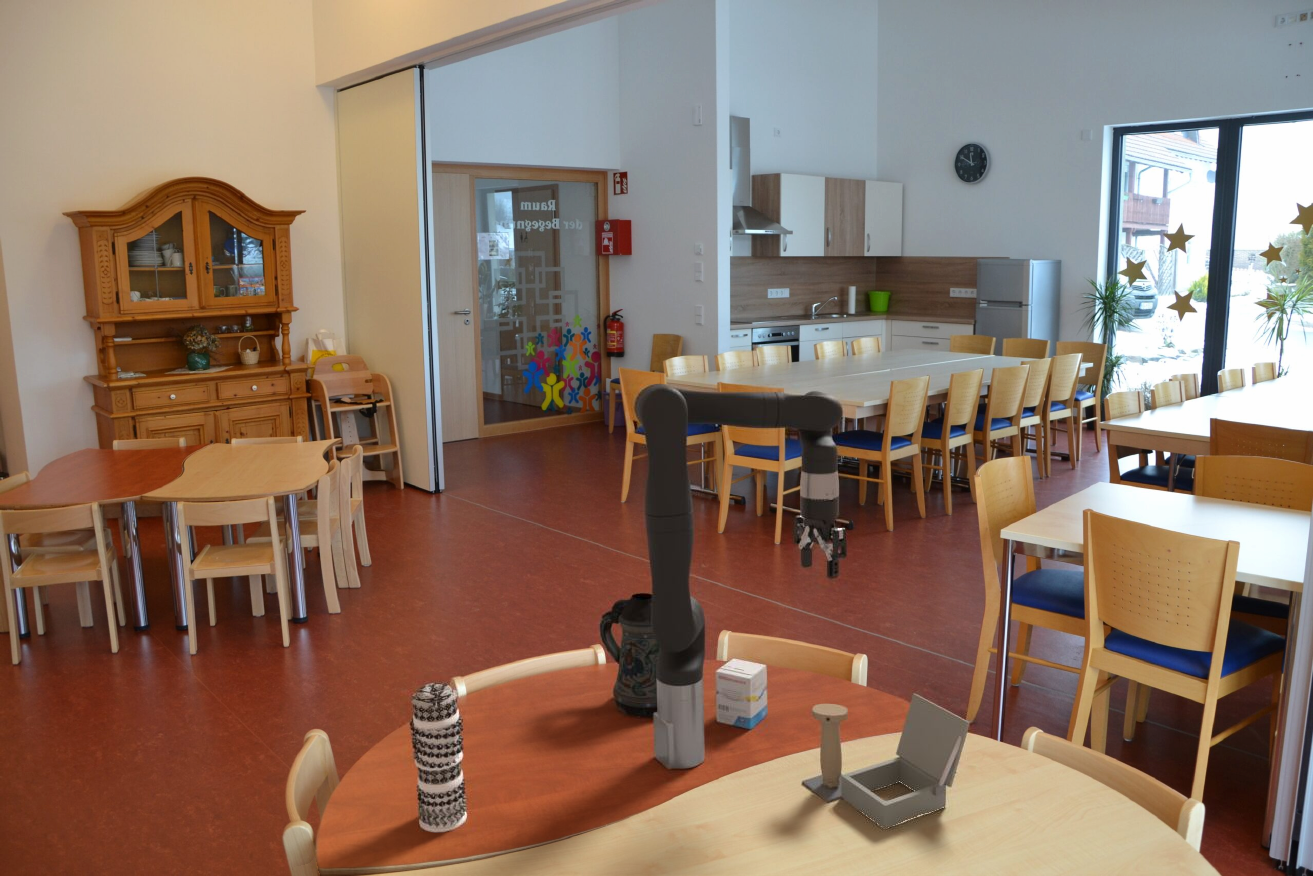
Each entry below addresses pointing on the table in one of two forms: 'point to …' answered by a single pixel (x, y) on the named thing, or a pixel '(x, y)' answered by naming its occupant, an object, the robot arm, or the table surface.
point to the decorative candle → (438, 758)
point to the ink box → (741, 693)
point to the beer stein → (633, 655)
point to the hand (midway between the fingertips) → (819, 572)
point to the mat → (823, 788)
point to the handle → (830, 741)
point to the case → (912, 766)
